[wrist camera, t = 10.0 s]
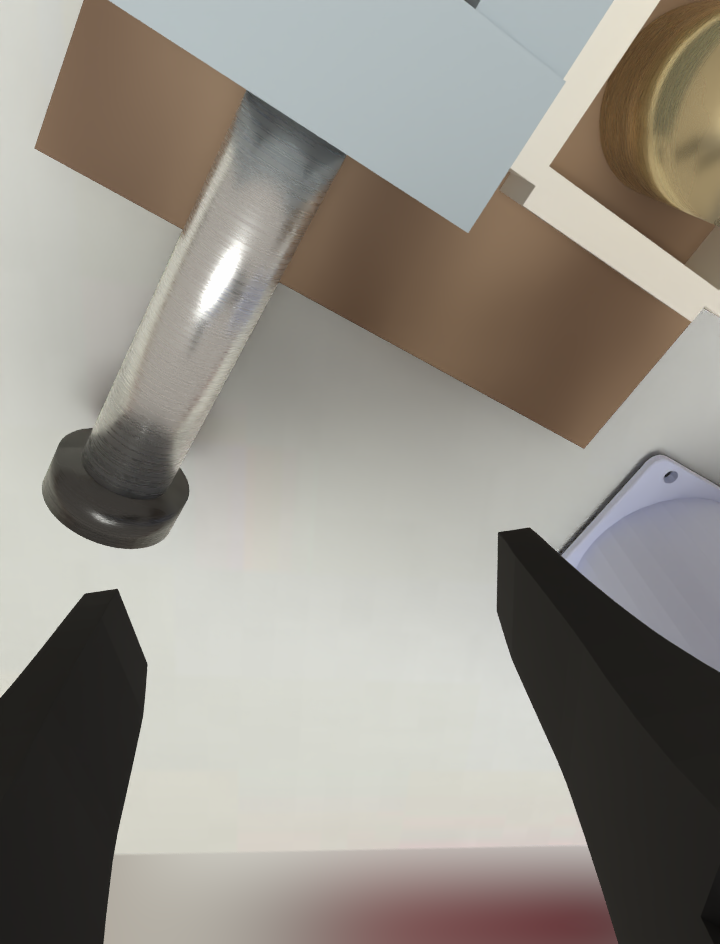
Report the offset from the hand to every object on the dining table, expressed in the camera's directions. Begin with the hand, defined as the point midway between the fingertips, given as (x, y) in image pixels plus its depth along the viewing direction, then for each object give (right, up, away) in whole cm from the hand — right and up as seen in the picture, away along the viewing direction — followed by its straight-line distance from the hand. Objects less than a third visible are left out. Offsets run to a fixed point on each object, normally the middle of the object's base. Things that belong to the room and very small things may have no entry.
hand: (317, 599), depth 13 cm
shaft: (-3, +7, +5) cm, 9 cm away
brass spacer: (+9, +12, +4) cm, 15 cm away
